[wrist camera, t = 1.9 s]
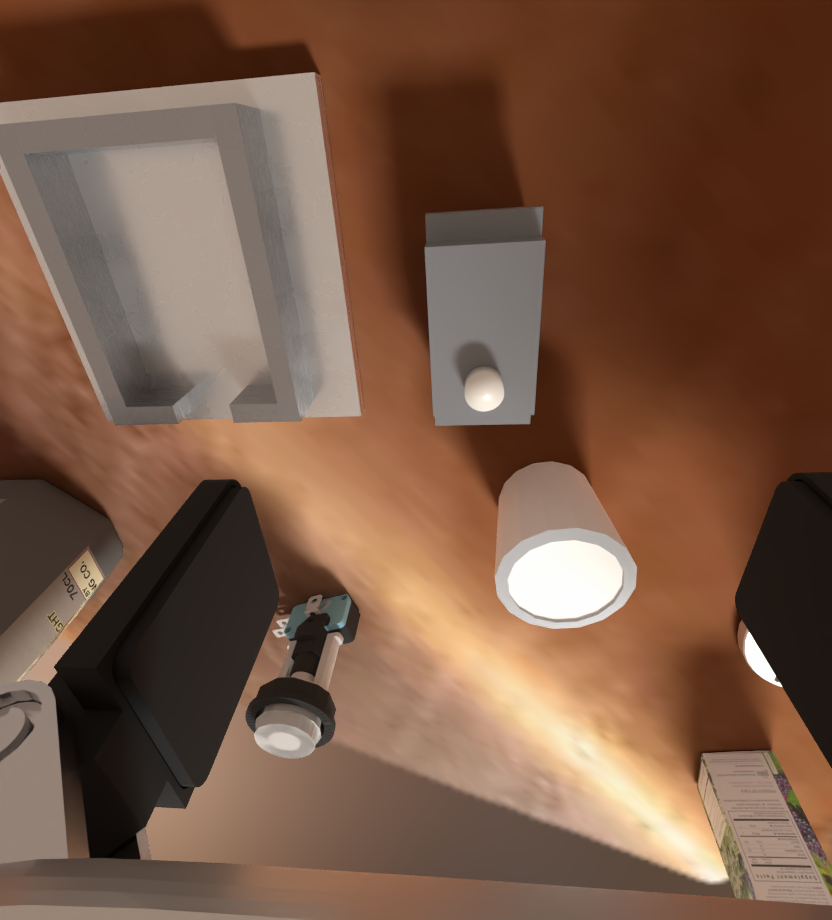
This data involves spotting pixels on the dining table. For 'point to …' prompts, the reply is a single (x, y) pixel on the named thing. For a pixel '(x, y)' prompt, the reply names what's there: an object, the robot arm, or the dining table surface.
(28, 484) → the liquor
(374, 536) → the dining table surface
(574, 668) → the dining table surface
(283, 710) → the push button
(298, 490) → the dining table surface
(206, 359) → the plate
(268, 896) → the robot arm
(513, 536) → the white cylinder
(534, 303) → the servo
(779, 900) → the syrup box
